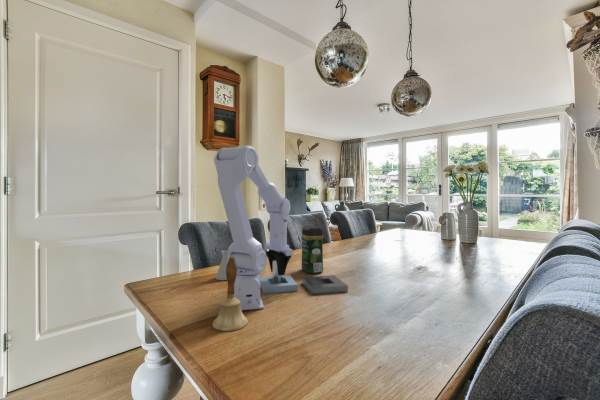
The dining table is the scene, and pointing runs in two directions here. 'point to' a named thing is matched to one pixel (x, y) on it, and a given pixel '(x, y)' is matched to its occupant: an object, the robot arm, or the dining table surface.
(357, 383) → the dining table surface
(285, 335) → the dining table surface
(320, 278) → the socket block
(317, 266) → the coffee jar
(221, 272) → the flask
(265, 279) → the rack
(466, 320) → the dining table surface
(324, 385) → the dining table surface
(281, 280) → the steel peg
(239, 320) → the hand bell
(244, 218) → the robot arm
